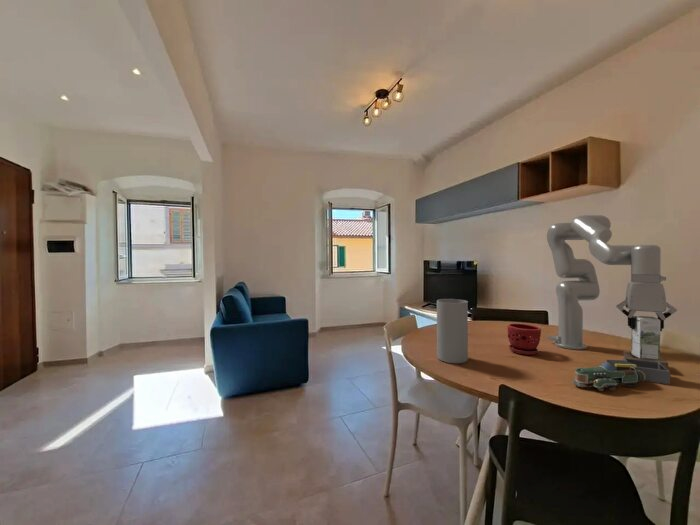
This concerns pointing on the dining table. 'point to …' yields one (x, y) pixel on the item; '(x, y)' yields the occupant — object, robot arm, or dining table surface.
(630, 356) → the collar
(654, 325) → the syrup box
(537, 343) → the plant pot
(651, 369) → the tray
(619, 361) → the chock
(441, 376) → the dining table surface
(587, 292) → the robot arm
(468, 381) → the dining table surface
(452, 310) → the cylinder vase
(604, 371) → the green toy hover car
